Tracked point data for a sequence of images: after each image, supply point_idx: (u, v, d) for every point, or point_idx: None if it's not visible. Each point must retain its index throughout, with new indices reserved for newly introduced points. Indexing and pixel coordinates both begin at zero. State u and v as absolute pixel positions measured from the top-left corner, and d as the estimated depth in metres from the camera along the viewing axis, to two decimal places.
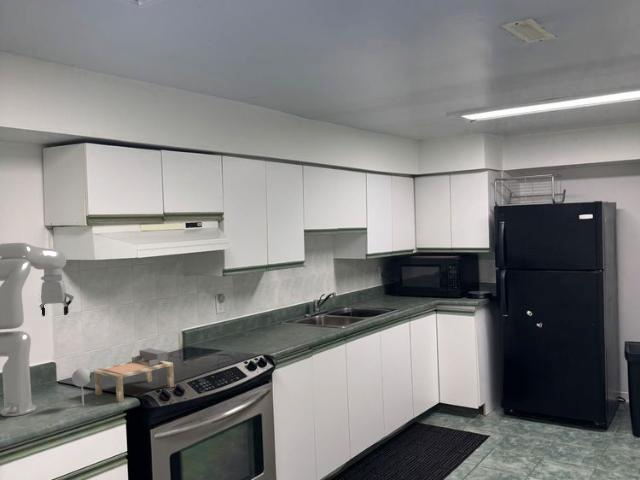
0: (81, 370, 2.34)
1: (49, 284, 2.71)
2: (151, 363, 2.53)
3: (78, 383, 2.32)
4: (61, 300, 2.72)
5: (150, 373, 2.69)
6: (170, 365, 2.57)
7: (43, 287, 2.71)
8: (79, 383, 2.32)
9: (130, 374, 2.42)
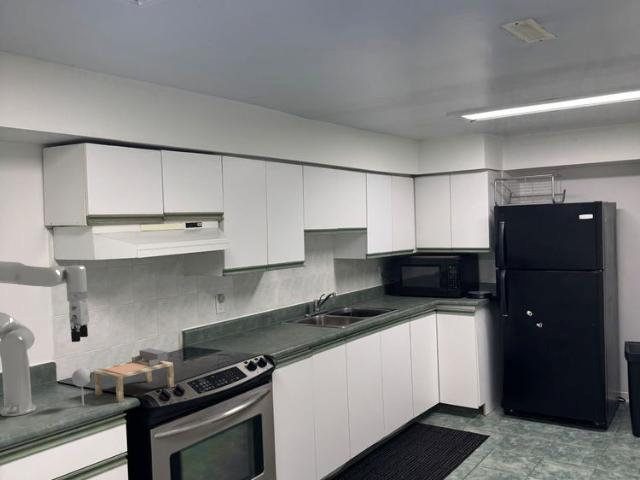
0: (81, 370, 2.34)
1: (84, 302, 2.34)
2: (151, 363, 2.53)
3: (78, 383, 2.32)
4: (88, 319, 2.39)
5: (150, 373, 2.69)
6: (170, 365, 2.57)
7: (81, 306, 2.31)
8: (79, 383, 2.32)
9: (130, 374, 2.42)
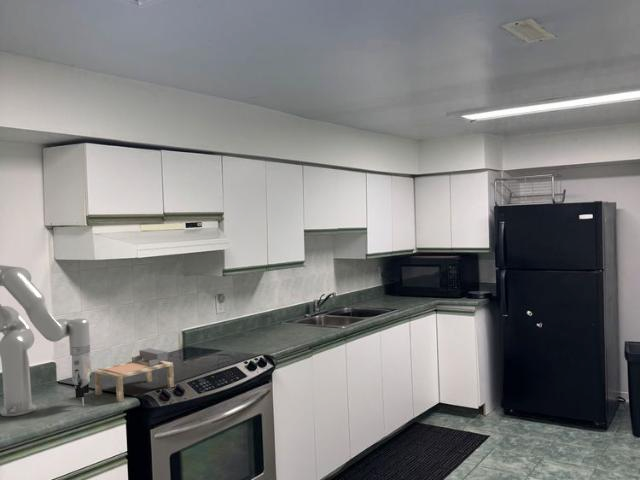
0: None
1: (86, 355, 2.34)
2: (151, 363, 2.53)
3: None
4: (91, 372, 2.39)
5: (150, 373, 2.69)
6: (170, 365, 2.57)
7: (84, 360, 2.31)
8: None
9: (130, 374, 2.42)
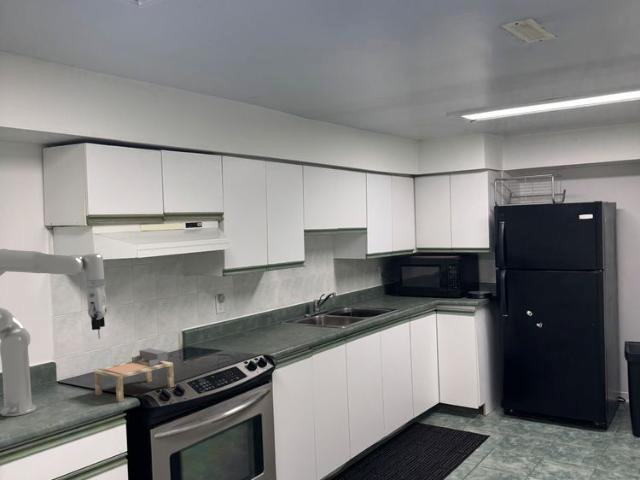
0: None
1: (101, 289, 2.40)
2: (151, 363, 2.53)
3: None
4: (106, 306, 2.45)
5: (150, 373, 2.69)
6: (170, 365, 2.57)
7: (99, 293, 2.37)
8: None
9: (130, 374, 2.42)
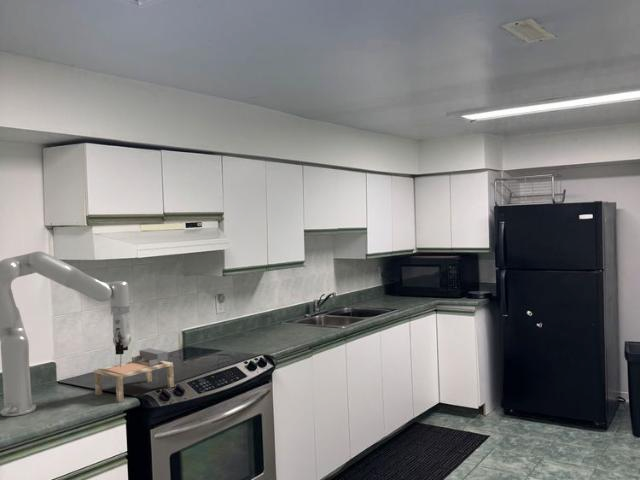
0: None
1: (126, 316, 2.49)
2: (151, 363, 2.53)
3: None
4: (129, 332, 2.54)
5: (150, 373, 2.69)
6: (170, 365, 2.57)
7: (124, 320, 2.46)
8: None
9: (130, 374, 2.42)
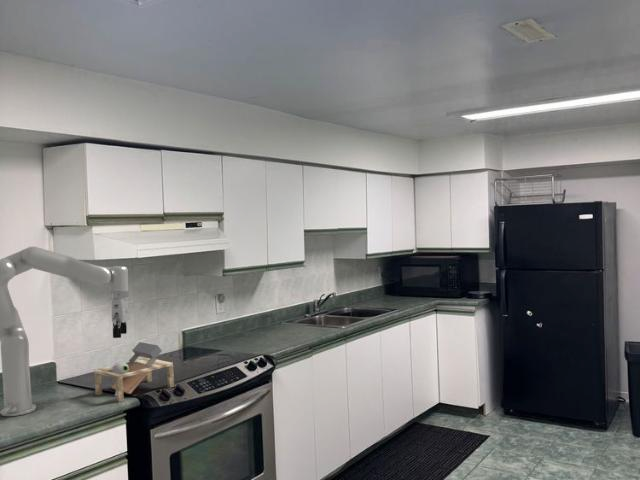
0: None
1: (125, 300, 2.49)
2: (149, 365, 2.52)
3: (113, 372, 2.51)
4: (128, 317, 2.54)
5: (150, 373, 2.69)
6: (170, 365, 2.57)
7: (123, 304, 2.46)
8: (113, 371, 2.51)
9: (130, 374, 2.42)
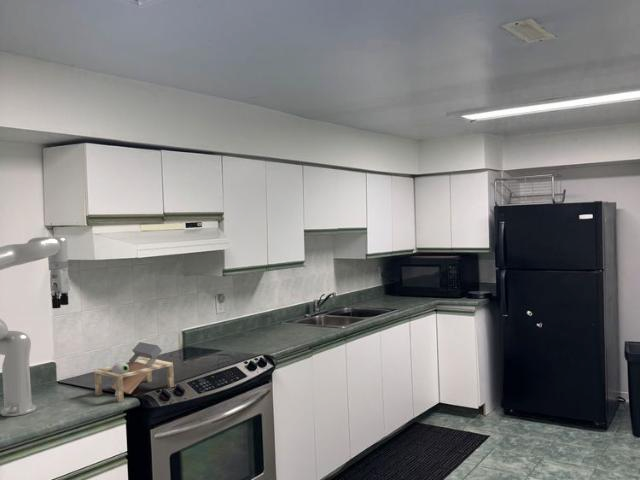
0: None
1: (64, 271, 2.48)
2: (149, 365, 2.52)
3: (113, 372, 2.51)
4: (69, 288, 2.53)
5: (150, 373, 2.69)
6: (170, 365, 2.57)
7: (62, 275, 2.45)
8: (113, 371, 2.51)
9: (130, 374, 2.42)
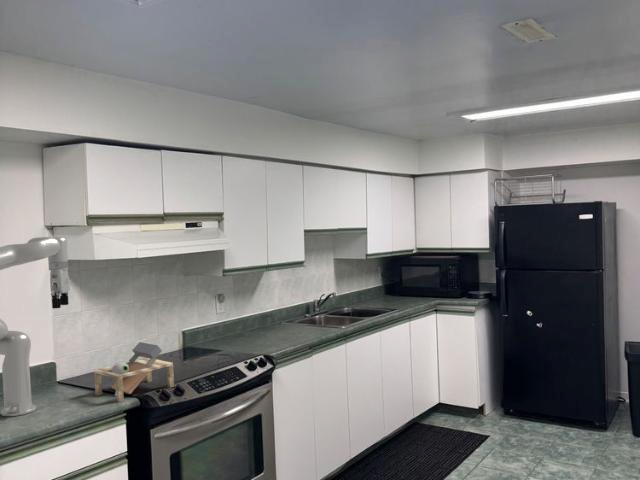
0: None
1: (64, 271, 2.48)
2: (149, 365, 2.52)
3: (113, 372, 2.51)
4: (69, 288, 2.53)
5: (150, 373, 2.69)
6: (170, 365, 2.57)
7: (62, 275, 2.45)
8: (113, 371, 2.51)
9: (130, 374, 2.42)
